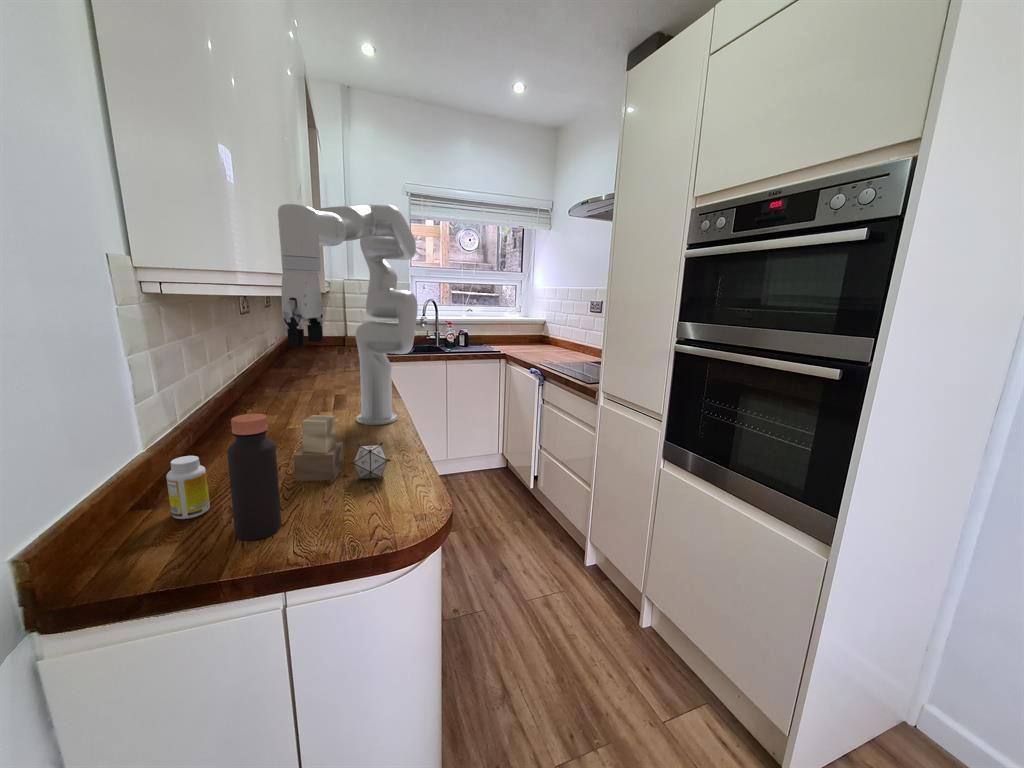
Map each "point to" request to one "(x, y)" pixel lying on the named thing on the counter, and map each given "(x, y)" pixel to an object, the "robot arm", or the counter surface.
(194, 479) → the supplement bottle
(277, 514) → the water bottle
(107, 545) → the counter surface
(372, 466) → the game die
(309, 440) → the pale wooden block
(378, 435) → the counter surface
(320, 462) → the walnut block
